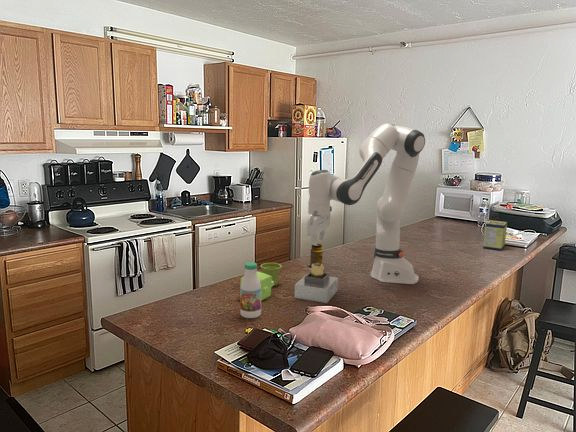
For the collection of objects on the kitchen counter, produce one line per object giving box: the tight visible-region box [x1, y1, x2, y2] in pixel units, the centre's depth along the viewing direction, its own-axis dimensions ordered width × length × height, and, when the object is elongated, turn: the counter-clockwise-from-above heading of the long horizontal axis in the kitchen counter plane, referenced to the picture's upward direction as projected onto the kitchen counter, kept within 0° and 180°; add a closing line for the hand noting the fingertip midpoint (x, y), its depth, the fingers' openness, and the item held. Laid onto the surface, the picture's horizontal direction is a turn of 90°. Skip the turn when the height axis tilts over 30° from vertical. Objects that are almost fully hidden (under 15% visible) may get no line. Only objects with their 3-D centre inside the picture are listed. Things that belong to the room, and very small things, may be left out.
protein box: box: [482, 219, 508, 252], centre depth 279 cm, size 10×16×16 cm
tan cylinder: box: [310, 263, 324, 279], centre depth 192 cm, size 5×5×8 cm
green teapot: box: [239, 270, 275, 302], centre depth 187 cm, size 18×10×10 cm, turn 146°
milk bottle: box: [239, 261, 262, 319], centre depth 169 cm, size 8×8×20 cm
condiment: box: [303, 243, 326, 271], centre depth 231 cm, size 7×8×12 cm
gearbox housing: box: [294, 271, 339, 304], centre depth 193 cm, size 14×16×8 cm
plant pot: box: [260, 262, 282, 287], centre depth 205 cm, size 9×9×9 cm
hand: (318, 242), depth 190 cm, fingers open, 8 cm apart
